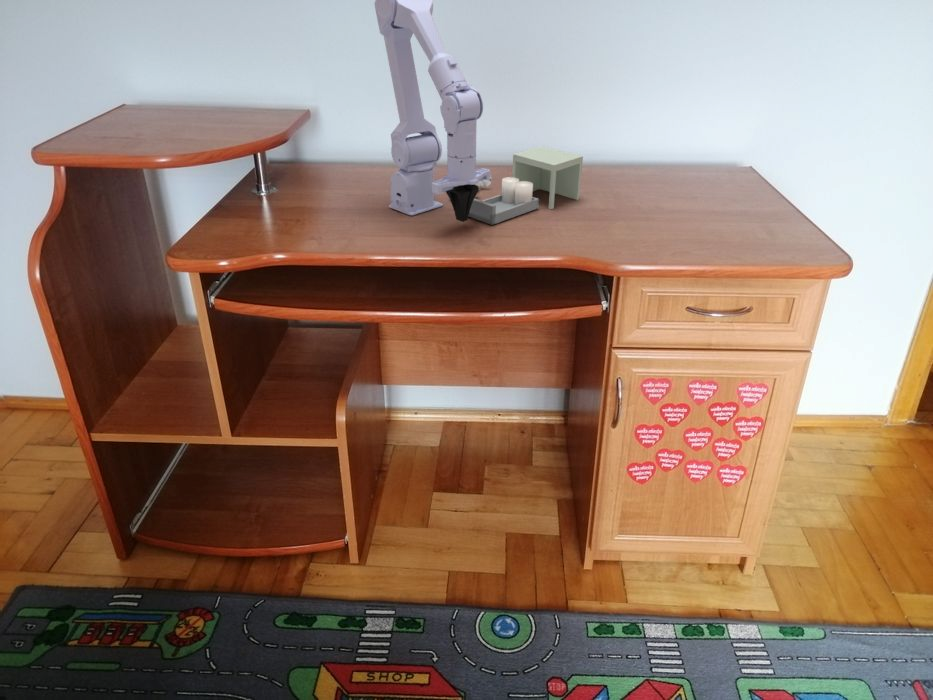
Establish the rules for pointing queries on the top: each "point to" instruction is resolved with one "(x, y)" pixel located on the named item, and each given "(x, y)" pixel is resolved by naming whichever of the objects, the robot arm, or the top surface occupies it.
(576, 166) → the block
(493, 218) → the tray
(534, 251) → the top surface
